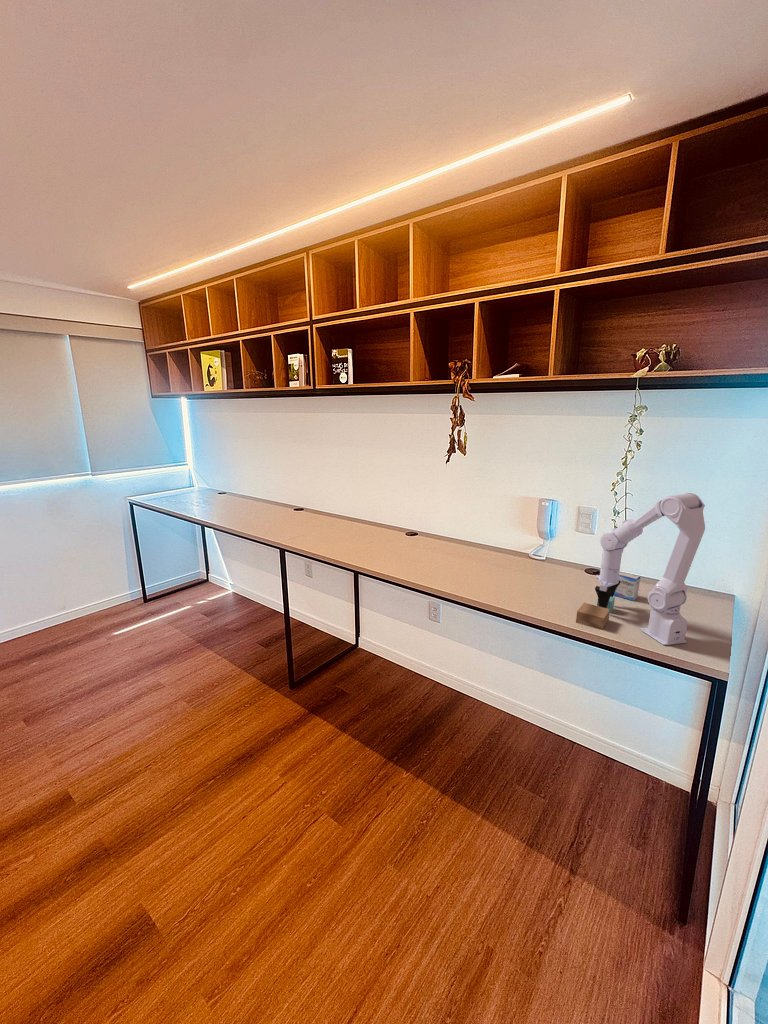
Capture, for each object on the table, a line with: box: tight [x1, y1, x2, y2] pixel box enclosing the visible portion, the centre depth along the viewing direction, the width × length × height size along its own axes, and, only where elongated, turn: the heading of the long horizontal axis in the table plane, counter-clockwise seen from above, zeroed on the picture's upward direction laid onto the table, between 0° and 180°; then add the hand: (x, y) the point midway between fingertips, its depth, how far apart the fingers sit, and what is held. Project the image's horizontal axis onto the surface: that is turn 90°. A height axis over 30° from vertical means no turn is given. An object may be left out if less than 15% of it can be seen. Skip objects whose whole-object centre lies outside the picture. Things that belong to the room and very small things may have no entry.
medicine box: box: [613, 571, 641, 602], centre depth 161 cm, size 8×4×9 cm, turn 45°
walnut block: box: [575, 602, 611, 631], centre depth 142 cm, size 8×8×4 cm
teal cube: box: [596, 596, 616, 614], centre depth 151 cm, size 4×4×4 cm
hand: (605, 603), depth 151 cm, fingers open, 7 cm apart
